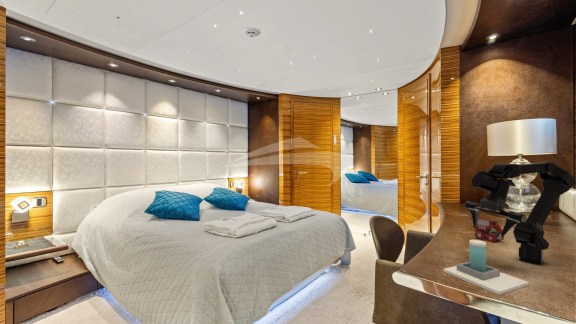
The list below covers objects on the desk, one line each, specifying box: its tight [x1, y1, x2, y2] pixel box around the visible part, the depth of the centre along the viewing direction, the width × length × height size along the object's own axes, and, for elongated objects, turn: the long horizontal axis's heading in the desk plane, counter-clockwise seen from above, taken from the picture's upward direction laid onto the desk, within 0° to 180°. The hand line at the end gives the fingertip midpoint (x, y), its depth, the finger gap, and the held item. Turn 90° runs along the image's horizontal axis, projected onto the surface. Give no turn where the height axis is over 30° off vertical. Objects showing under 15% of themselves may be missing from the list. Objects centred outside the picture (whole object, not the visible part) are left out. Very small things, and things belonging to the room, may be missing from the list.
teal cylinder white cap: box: [468, 239, 487, 273], centre depth 92 cm, size 5×5×11 cm
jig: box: [443, 260, 530, 296], centre depth 90 cm, size 16×18×3 cm
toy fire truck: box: [474, 217, 505, 243], centre depth 133 cm, size 7×12×10 cm, turn 30°
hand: (487, 232), depth 103 cm, fingers open, 9 cm apart
